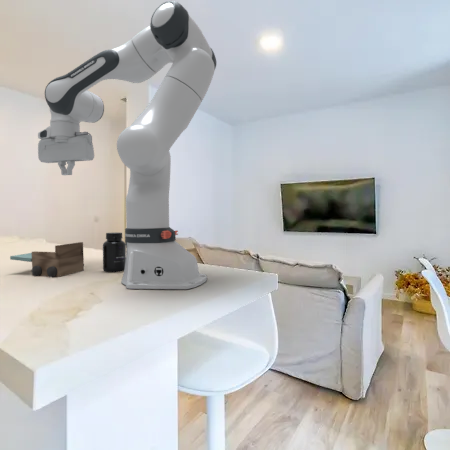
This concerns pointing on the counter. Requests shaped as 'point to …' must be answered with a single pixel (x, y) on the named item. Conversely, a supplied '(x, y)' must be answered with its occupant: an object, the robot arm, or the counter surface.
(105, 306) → the counter surface
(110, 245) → the supplement bottle
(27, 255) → the panel
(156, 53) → the robot arm
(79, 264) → the cart
